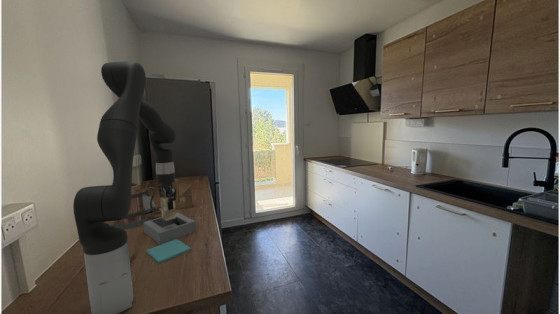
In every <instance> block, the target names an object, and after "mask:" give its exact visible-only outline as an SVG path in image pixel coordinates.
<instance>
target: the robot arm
mask: <svg viewBox="0 0 560 314" xmlns="http://www.w3.org/2000/svg"><path fill="white" fill-rule="evenodd" d="M100 73H101V77H102V81H103V82H104V83H105V85H106V86H107V88H108V89H109V90H111V91H112V93H114V95H115V96H116V97H118V99H116V101H115V102H114V103H113V104H112V105H111V106H110V107H109V108H108V109H107V110H106V111H105V112H104V114H103V115H102V116H101V118H100V121H99V124H98V125H99V126H98V129H97V130H98V132H97V135H96V140H97V141H96V142H97V144H98V146H99V148H100V150H101V152H102V153H103V154H104V156H105V158H106V159H107V160H108V162H109V164H110V165H111V168H112V172H113V173H112V174H113V177H112V178H113V180H112V184H110V185H108V184H107V185H93V186H92V185H91V186H84V187H82V188H80V189H79V190H77V192H76V194H75V196H74V199H73V204H72V205H73V207H72V208H73V216H74V221H75V226H76V229H77V235H78V236H77V237H78V241H79V243H80V245H81V246H82V250H83V251H82V252H83V256H84V265H85V266H84V267H85V273H86V282H87V289H88V297H89V298H88V299H89V306H90V313H91V314H121V313H122V312H124V311H126V310H128V309H130V308H131V307H132V306H133V305H132V303H133V301H134V292H133V291H134V288H133V279H132V271H131V263H130V262H131V261H130V253H129V240H128V234H127V231H126V229H125V230H123V229H121V228H117V227H113V226H112V225H110V224H108V223H107V222H115V221H117V220H122V219H124V218H125V217H126V216H127V215H128V212H129V209H130V205H131V189H132V183H133V166H134V165H133V163H134V154H135V150H136V149H135V148H136V144H137V137H138V135H137V134H138V129H139V128H138V126H139V120H140V122H141V123H143V126H145V128H146V129H147V130H148V131H149V133H148V138H149V141H150V143H151V146H152V148H153V151H154V154H155V174H156V176H155V178H156V183H157V184H158V186H157V187H158V189H157V190H158V192H159V193H158V194H159V198H161V197H166V198H167V203H168V210H172V209H173V201H175V200H176V188H175V189H173V186H172V183H173V182H175V179H176V174H175V173H176V171H175V163H174V153H173V150H172V149H170V148H165V147H164V146H163V144H173V143H174V142H175V141H176V139H177V134H176V131H175V129H174V128H173V127H172V126H171V125H170V124H168V123H167V122H166V121H165V120H164V119H163V118H162V116H161V114H160V112H158V110H157V109H156V108H155V106H153V105H152V104H150V103H149V102H148V101H146V100H144V99H143V97H144V93H145V89H146V83H147V77H146V72H145V69H144V67H143V66H142V64H141V63H140V62H137V61H134V60H133V61H132V60H125V61H123V60H122V61H111V62H105V63H103V64H102V66H101V71H100Z"/></svg>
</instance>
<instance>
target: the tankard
mask: <svg viewBox="0 0 560 314" xmlns="http://www.w3.org/2000/svg"><path fill="white" fill-rule="evenodd" d="M141 190H142V189H141V185H140V183H134V182H132V189H131V205H130V209H129V212H128V215H127V216H126V217H125V218H124V219H122V220H117V221H113V224H112V225H111V226H113V227H117V228H121V229H123V230H125V231H126V230H131V229H135V228H138V227H142V226H144V223H143V222H146V221H150V220H151V218H150V217H149V216H148V215H146V213H145V209H144V206H143V199H142V194H143V193H145V194H146V195H147V196H150V197H151V199H150V207H151V210H152V211H151V212H152V214H155V215H162V212H161V205H158V206H157V207H156V210H157V211H156V210H155V208H154V209H153V207H152V200H153V199H154V197H155V195H156V188H155V187H153V186H148V187H147V189H146V190H145V191H144V192H142V191H141ZM148 190H152V191H153V193H152V195H150V194H149V193H150V191H148Z"/></svg>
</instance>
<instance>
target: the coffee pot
mask: <svg viewBox="0 0 560 314" xmlns="http://www.w3.org/2000/svg"><path fill="white" fill-rule="evenodd" d="M148 187H149V181H146V183H145V188H143V189H141V191H142V192H144V191H145V190H146V189H147V188H148ZM148 191H149V192H150V191H151V189H149V190H148ZM151 197H152V196H151V195H150V196H147V195H146V194H145V193H143V194H142V199H143V206H144V209H145V214H148V213H151V212H152V210H151V207H150V199H151ZM152 207H153V209H154V210H155V208H156V203H155V202H154V200H153V199H152Z"/></svg>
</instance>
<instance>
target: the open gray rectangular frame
mask: <svg viewBox="0 0 560 314" xmlns="http://www.w3.org/2000/svg"><path fill="white" fill-rule="evenodd" d="M143 223H144V225H143V230H144V231H143V232H144V234H145V235H147V236H148V237H150V238H151V239H152V240H154V242H155V243H157V244H158V245H162V244H165V243H167V242H170V241H173V240H175V239H177V240H178V239H179V238H182V237H185V236H187V235H190V234H192V233H195V232H197V226H196V220H193V219H191V218H190V217H187V216H185V215H184V214H181V213H180V212H176V218H174V219H171V220H168V221H165V220H164V219H162V216H160V217H157V218H153V219H150V221H146V222H143ZM178 224H179V225H178Z"/></svg>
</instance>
